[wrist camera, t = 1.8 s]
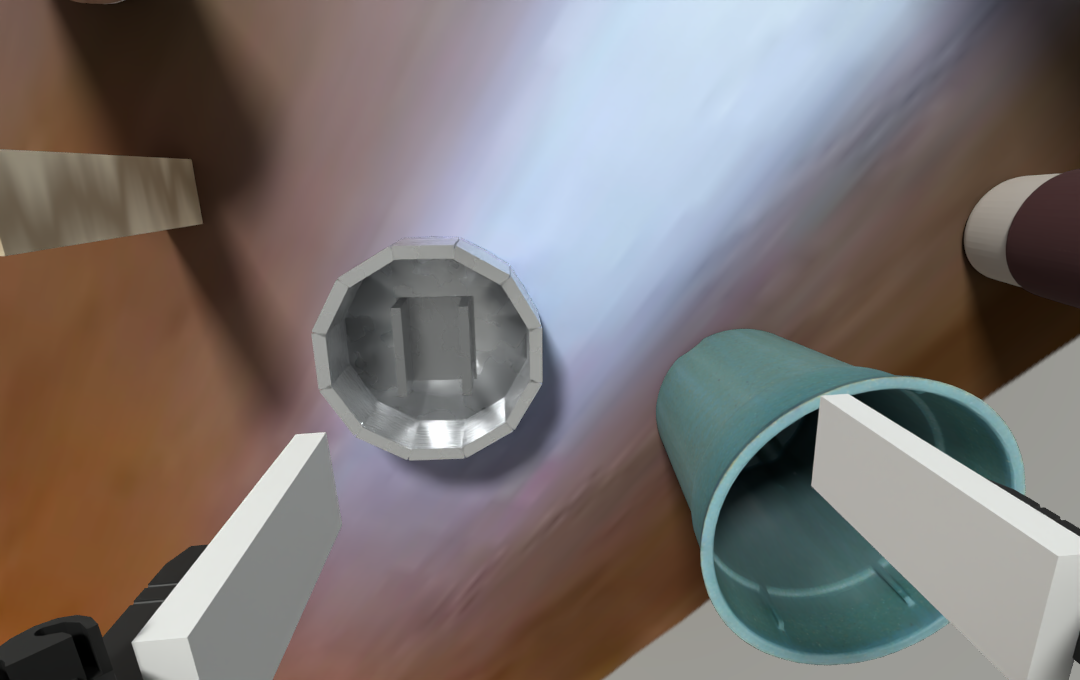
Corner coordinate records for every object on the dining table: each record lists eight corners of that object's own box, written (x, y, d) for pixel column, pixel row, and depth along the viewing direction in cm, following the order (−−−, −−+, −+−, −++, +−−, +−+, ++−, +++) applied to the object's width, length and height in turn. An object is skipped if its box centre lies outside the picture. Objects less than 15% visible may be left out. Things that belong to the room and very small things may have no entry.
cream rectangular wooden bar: (150, 159, 35) (-98, 148, 20) (191, 159, 35) (-26, 148, 21) (163, 224, 36) (-63, 256, 22) (202, 223, 36) (5, 256, 22)
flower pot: (880, 386, 43) (1095, 505, 27) (734, 533, 46) (852, 715, 30) (733, 253, 39) (884, 304, 24) (583, 422, 42) (631, 567, 27)
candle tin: (326, 237, 37) (300, 247, 32) (536, 235, 38) (541, 243, 33) (348, 429, 41) (328, 463, 36) (538, 423, 42) (542, 455, 37)
